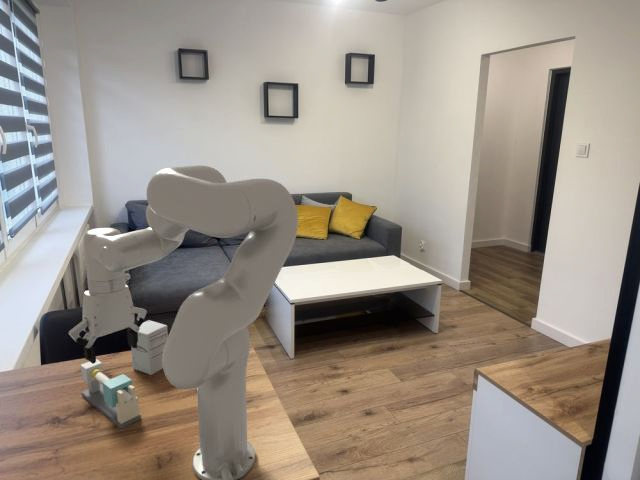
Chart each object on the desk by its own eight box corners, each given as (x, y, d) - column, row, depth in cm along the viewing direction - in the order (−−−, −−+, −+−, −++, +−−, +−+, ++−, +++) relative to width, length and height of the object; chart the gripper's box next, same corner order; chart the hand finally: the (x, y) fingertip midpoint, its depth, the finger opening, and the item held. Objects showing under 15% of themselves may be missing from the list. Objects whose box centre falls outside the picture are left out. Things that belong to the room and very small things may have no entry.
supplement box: (132, 369, 126) (128, 328, 123) (152, 358, 132) (149, 319, 129) (150, 376, 123) (147, 334, 120) (170, 364, 129) (167, 324, 126)
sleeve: (133, 398, 105) (131, 379, 104) (112, 408, 102) (110, 388, 100) (125, 392, 108) (123, 373, 107) (104, 401, 104) (102, 382, 103)
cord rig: (141, 418, 104) (138, 386, 102) (120, 428, 101) (117, 395, 99) (101, 387, 117) (98, 358, 115) (82, 395, 113) (78, 365, 111)
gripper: (135, 271, 107) (139, 336, 111) (57, 289, 94) (66, 361, 98) (151, 278, 102) (155, 345, 106) (73, 298, 89) (81, 374, 93)
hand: (112, 353), depth 102 cm, fingers open, 9 cm apart
